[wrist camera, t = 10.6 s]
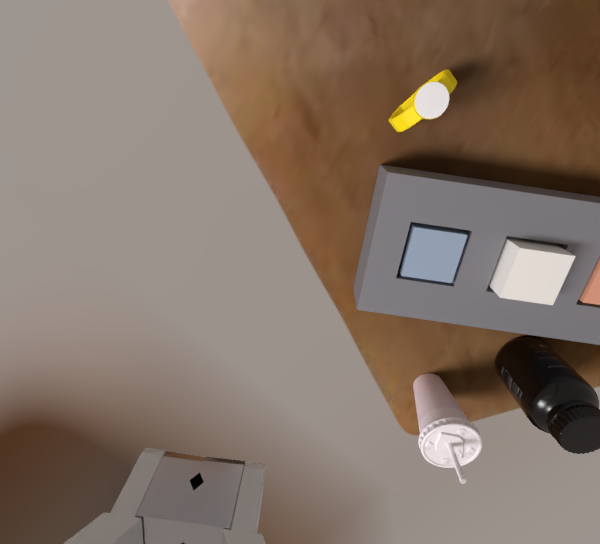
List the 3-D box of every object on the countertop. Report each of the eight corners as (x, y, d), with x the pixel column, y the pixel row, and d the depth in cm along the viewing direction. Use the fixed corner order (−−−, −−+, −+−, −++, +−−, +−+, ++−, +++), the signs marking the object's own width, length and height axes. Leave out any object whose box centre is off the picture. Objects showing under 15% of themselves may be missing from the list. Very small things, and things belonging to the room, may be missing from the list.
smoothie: (439, 356, 47) (483, 450, 34) (462, 391, 48) (512, 493, 36) (393, 378, 48) (419, 477, 35) (417, 411, 50) (450, 515, 37)
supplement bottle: (534, 386, 48) (597, 469, 37) (483, 372, 47) (532, 453, 36) (563, 342, 45) (641, 418, 34) (509, 327, 44) (571, 400, 33)
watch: (430, 67, 35) (455, 55, 29) (447, 91, 35) (475, 84, 30) (378, 115, 36) (393, 112, 30) (396, 138, 37) (413, 139, 31)
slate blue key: (393, 259, 41) (401, 275, 37) (404, 214, 39) (414, 227, 35) (439, 266, 41) (451, 283, 37) (452, 221, 39) (467, 235, 35)
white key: (481, 278, 39) (500, 297, 35) (498, 232, 37) (519, 247, 33) (529, 285, 39) (552, 305, 35) (548, 240, 37) (575, 256, 33)
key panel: (353, 288, 44) (356, 309, 39) (379, 164, 38) (387, 172, 33) (610, 325, 44) (643, 351, 39) (674, 207, 38) (723, 221, 33)
